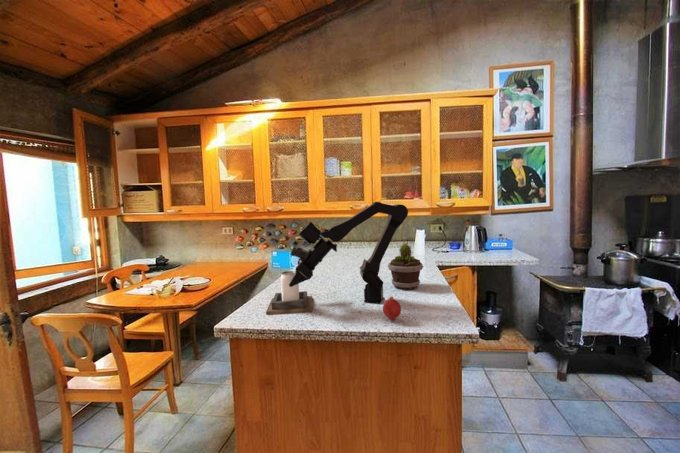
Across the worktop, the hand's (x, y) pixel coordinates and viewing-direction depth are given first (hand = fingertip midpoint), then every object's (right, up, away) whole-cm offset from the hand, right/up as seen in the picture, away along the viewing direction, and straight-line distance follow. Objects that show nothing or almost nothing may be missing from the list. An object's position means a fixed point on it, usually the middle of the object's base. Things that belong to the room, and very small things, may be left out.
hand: (290, 282), depth 125 cm
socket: (0, -9, +1) cm, 9 cm away
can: (0, -8, 0) cm, 8 cm away
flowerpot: (+48, -5, +20) cm, 52 cm away
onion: (+36, -9, -18) cm, 41 cm away
